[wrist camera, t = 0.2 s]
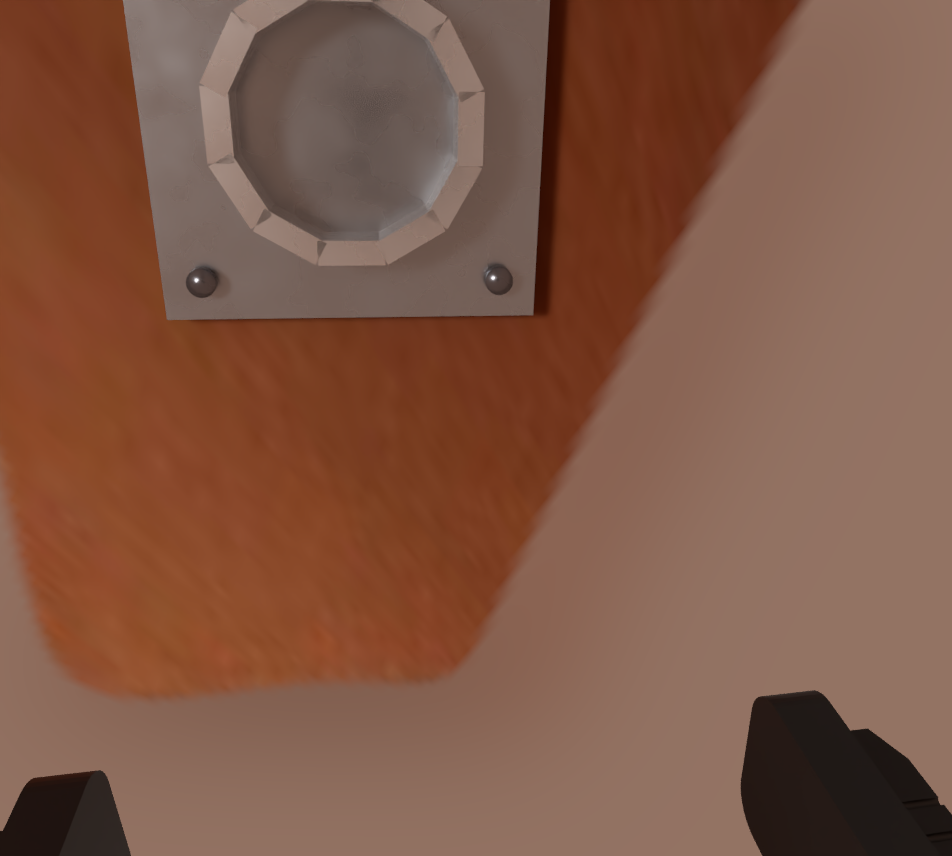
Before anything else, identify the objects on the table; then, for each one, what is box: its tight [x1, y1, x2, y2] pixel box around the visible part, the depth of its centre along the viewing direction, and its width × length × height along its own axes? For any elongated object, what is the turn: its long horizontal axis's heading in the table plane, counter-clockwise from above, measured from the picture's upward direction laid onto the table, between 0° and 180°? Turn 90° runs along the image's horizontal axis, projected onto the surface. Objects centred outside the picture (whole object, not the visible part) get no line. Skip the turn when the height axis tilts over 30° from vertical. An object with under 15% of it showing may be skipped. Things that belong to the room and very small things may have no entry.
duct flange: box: [123, 0, 550, 320], centre depth 32 cm, size 16×16×3 cm
